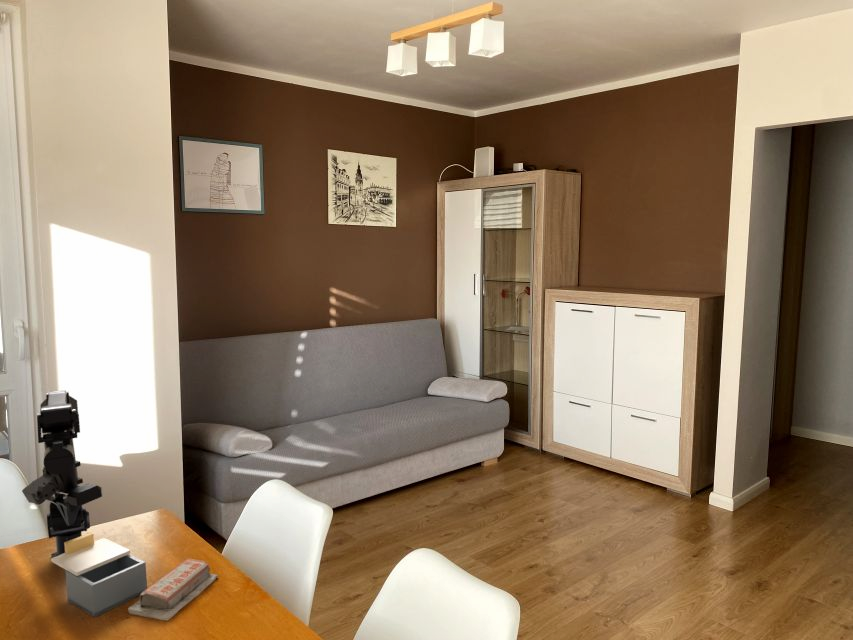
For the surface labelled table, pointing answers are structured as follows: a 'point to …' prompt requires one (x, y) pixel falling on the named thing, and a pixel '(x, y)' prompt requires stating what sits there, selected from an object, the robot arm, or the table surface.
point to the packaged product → (173, 590)
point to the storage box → (107, 585)
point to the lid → (88, 554)
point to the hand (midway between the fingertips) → (70, 524)
